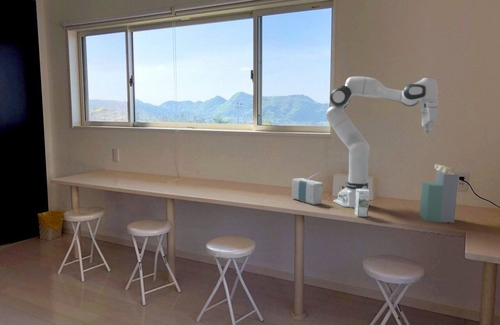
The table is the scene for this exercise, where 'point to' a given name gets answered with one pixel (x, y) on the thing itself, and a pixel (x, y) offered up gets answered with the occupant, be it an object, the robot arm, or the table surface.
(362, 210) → the syrup box
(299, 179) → the stereo radio cassette player
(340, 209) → the table surface
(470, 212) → the table surface
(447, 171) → the ash rod
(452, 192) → the stepped riser
